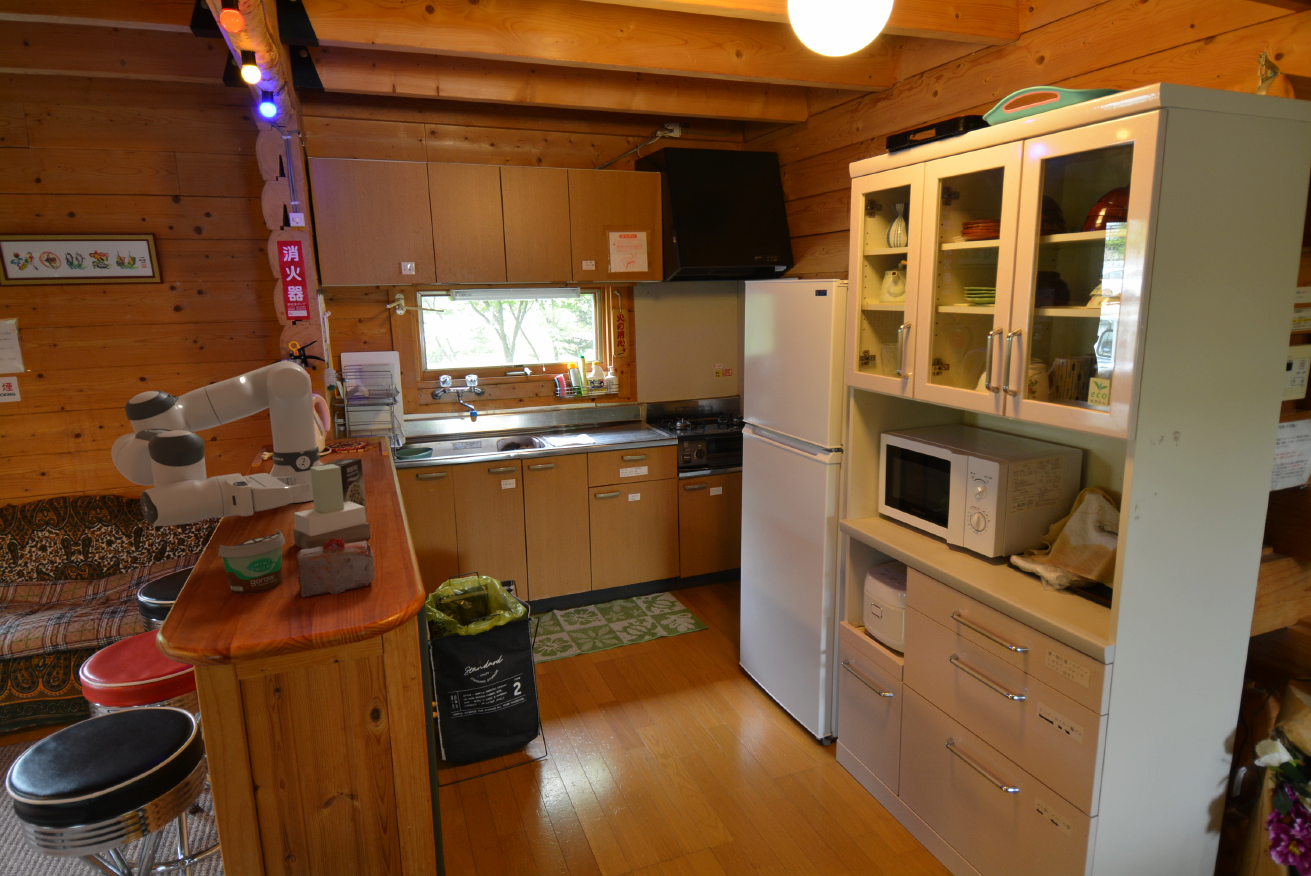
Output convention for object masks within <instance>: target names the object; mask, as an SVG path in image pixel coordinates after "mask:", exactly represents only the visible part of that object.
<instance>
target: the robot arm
mask: <svg viewBox="0 0 1311 876" xmlns="http://www.w3.org/2000/svg"><path fill="white" fill-rule="evenodd" d="M313 402H314V401H313V388H312V380H311V376H310V375H309V373H308V371H306V370H305V369H304V368H303V366H301V365H299V364H298V363H296V362H294V361H290V360H282V361H278V362H275V363H272V364H269V365H266V366H263V367H260V368H257V369H255V370H251V371H248V372H245V373H243V374H240V375H237V376H233V377H231V378H228V379H226V380H225V379H224V380H221V381H217V382H215V383H212V384H209V385H206V386H202V387H200V388H197V389H194V390H191V391H188V392H186V393H184V394H182V395H180V396H177V395H172V394H170V393H168V392H165V391H162V390H150V391H149V390H148V391H144V392H141V393H139V394H136V395H135V396H133V397H131V398H130V399H128V400H127V402H126V403H125V405H124V411H125V416H126V418H127V420H129V421H130V425H131V427H132V430H133V432H130V433H126V434H123V435H122V436H121V435H120V436H119V438H117V439H116V440H115V441H114V443H113V444H112V446H111V450H110V452H111V453H110V454H111V455H110V456H111V460H112V462H113V465H114V466H115V468H116V469H117V471H118V472H119V473H120V474H121V475H122V476H123V477H125V479H127V480H128V481H130V482H131V483H133V484H135V485H140V486H145V487H146V486H149V487H150V486H153V487H151V488H147V489H145V490H143V491H141V494H140V499H139V500H140V503H139V504H140V509H141V512H142V514H143V518H144V520H145V521H146V522H147V523H148V524H149V525H150V526H153V527H163V526H164V527H166V526H178V525H187V524H192V523H199V522H201V521H203V520H206V519H208V518H209V519H210V518H218V519H220V518H221V519H222V518H226V517H234V516H241V517H249V516H253V515H254V512H263V511H267V510H272V509H275V508H281V507H283V506H287V505H289V504H295V503H303V502H304V503H305V502H309V501H310V502H311V501H314V500H313V489H312V479H311V468H310V467H316V466H320V465H323V464H324V463H322V462H321V461H320V459H321V457H320V453H321V452H320V449H319V447H318V445H317V437H316V428H315V427H316V426H315V416H314V414H315V413H314V403H313ZM268 408H269V415H270V416H269V417H270V426H271V434H272V442H273V444H272V445H273V451H272V463H273V466H272V468H271V471H270V472H269V473H265V472H262V473H261V472H259V473H254V474H249V475H243V476H242V474H241V473H240V472H238V473H237V472H236V473H235V472H234V473H230V474H223V475H215V476H210V477H209V478H208V477H207V469H206V461H205V460H206V458H205V453H206V452H205V440H204V439H203V438H202V437H201V436H200V435H198V434H197V433H196V432H199V431H204V430H209V429H212V428H215V427H216V428H217V427H219V426H222V425H225V424H229V423H231V422H235V421H238V420H240V419H243V418H246V417H250V416H253V415H255V414H257V413H259V412H262V411H264V410H266V409H268Z"/></svg>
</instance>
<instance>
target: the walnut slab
mask: <svg viewBox="0 0 1311 876" xmlns="http://www.w3.org/2000/svg"><path fill="white" fill-rule="evenodd" d="M292 532H293V540H294V545H296V546H297V547H299V548H301V550H302V549H311V548H316V547H323V546H324V542H326V541H327V540H330V539H332V538H334V539H343V540H344V542H345V544H347V543H355V542H361V541H365V540H367V539H371V538H372V537H371V529H370V522H367V521H366V523H364V524H360V525H356V526H352V527H348V528H344V529H339V530H335V531H331V532H327V533H323V534H319V535H315V536H309V535H306V534H304V533H302V532H300V531H297V530H296V528H294V529H293V531H292Z"/></svg>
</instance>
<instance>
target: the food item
mask: <svg viewBox="0 0 1311 876" xmlns="http://www.w3.org/2000/svg"><path fill="white" fill-rule="evenodd" d="M295 558H296V559H297V560H296V561H297V562H296V563H297V568H298V569H297V571H298V577H297V583H298V587H299V588H298V590H299V592H300V597H301V598H302V599H303V598H308V597H311V596H318V595H324V594H327V593H330V594H333V595H335V594H336V595H337V594H341V593H342V592H346V590H352V589H357V588H363V587H367V586H368V585H369V584H370V583H372V582H373V580H374V579H375V577H376V576H375V575H376V574H375V572H376V571H375V570H376V567H375V559H374V558H375V555H374V552H373V549H372V547H371V545H370V544H369V542H368V541H367V540H361V541H356V542H352V543H348V544H345V542H344V540H343V539H334V538H332V539H330V540H327V541H326V542H324V546H323V547H316V548H311V549H302V548H301V549H300V551H298V552H297V553H296V554H295Z"/></svg>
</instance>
